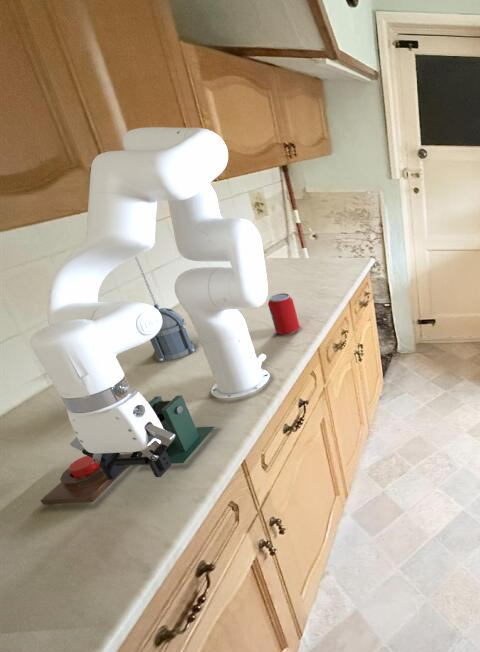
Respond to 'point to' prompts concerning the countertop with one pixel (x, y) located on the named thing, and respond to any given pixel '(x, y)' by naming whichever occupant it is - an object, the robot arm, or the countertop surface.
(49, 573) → the countertop surface
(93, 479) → the control block
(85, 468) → the red button
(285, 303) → the beverage can
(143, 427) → the robot arm
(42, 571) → the countertop surface
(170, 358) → the lantern
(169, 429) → the switch bracket
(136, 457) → the switch lever
